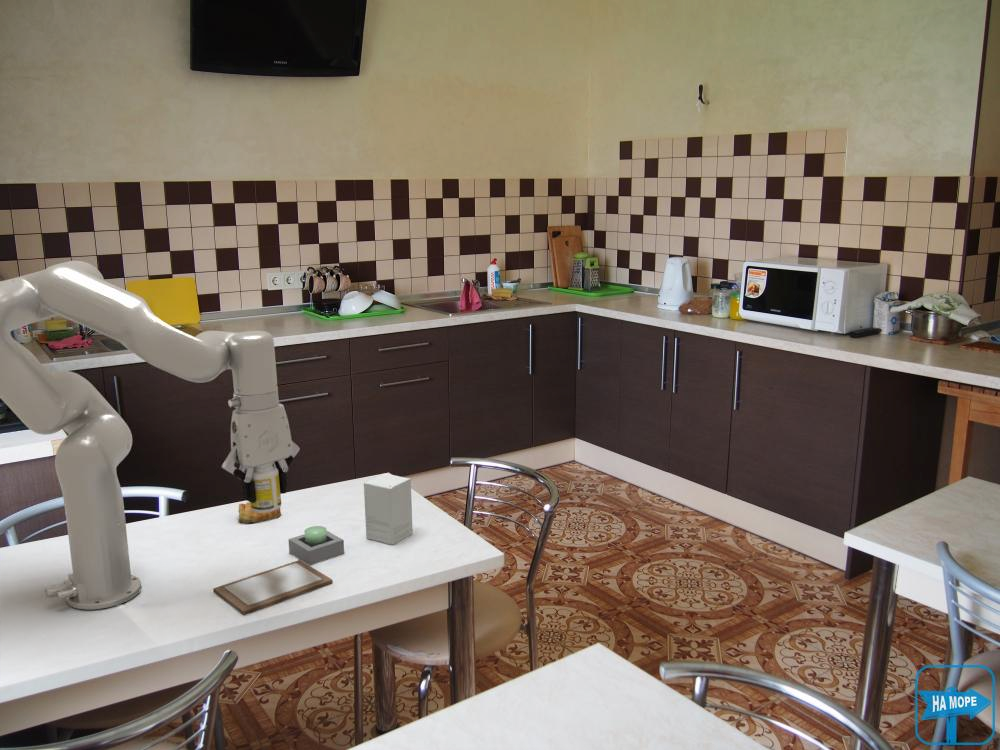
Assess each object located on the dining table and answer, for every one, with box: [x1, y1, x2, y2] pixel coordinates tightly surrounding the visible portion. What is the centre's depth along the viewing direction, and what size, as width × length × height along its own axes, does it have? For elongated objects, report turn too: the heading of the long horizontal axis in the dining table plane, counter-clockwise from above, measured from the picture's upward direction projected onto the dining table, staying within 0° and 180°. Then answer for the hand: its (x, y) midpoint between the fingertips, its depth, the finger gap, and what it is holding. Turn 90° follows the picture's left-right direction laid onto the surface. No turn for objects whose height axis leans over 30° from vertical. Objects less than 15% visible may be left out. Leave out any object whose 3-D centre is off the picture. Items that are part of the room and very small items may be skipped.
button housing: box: [288, 530, 345, 566], centre depth 175 cm, size 8×8×3 cm
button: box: [303, 525, 328, 544], centre depth 174 cm, size 4×4×2 cm
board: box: [213, 559, 334, 616], centre depth 160 cm, size 18×12×1 cm, turn 133°
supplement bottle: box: [251, 462, 282, 513], centre depth 157 cm, size 5×5×10 cm
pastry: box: [237, 501, 282, 524], centre depth 194 cm, size 9×7×4 cm
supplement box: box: [363, 473, 414, 545], centre depth 182 cm, size 7×7×13 cm
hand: (265, 495), depth 157 cm, fingers closed on supplement bottle, 5 cm apart
